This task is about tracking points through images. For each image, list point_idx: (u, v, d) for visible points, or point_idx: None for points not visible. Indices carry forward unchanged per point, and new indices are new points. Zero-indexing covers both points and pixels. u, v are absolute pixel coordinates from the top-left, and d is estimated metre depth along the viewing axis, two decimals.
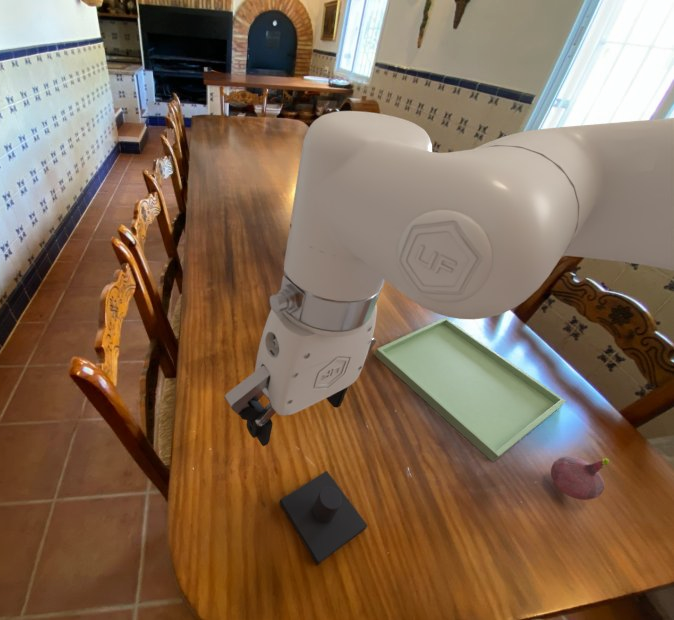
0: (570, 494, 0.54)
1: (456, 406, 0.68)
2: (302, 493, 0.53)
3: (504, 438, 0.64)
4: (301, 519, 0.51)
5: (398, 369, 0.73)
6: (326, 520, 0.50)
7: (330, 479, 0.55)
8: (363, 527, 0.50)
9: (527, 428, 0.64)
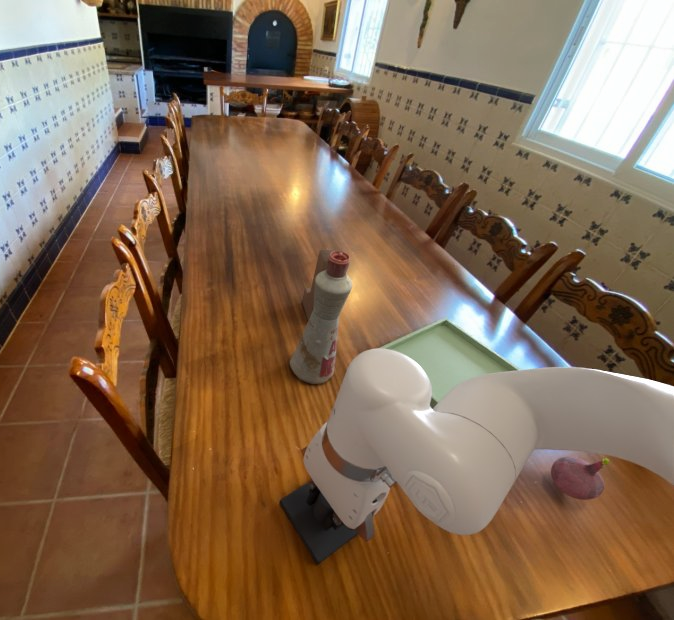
0: (570, 494, 0.54)
1: None
2: (302, 493, 0.53)
3: None
4: (301, 519, 0.51)
5: None
6: None
7: None
8: None
9: None
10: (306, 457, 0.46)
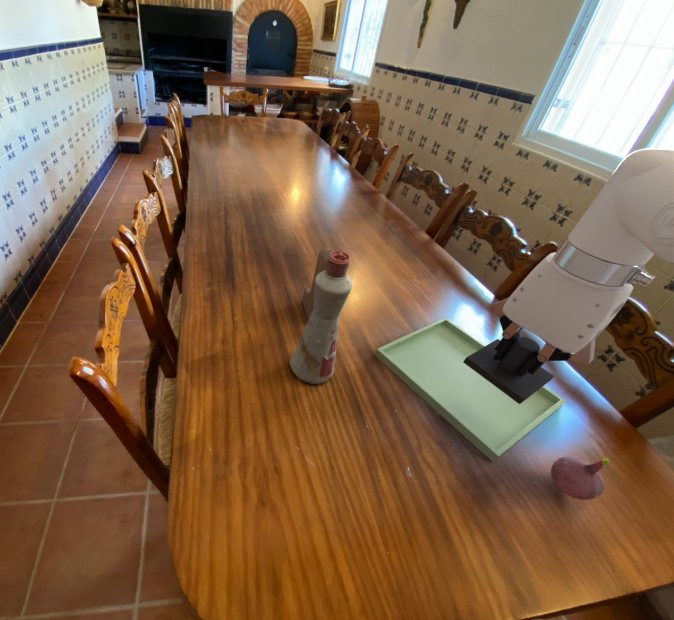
0: (570, 494, 0.54)
1: (456, 406, 0.68)
2: (484, 353, 0.57)
3: (504, 438, 0.64)
4: (492, 370, 0.54)
5: (398, 369, 0.73)
6: (519, 368, 0.53)
7: None
8: (551, 377, 0.54)
9: (527, 428, 0.64)
10: (513, 300, 0.50)
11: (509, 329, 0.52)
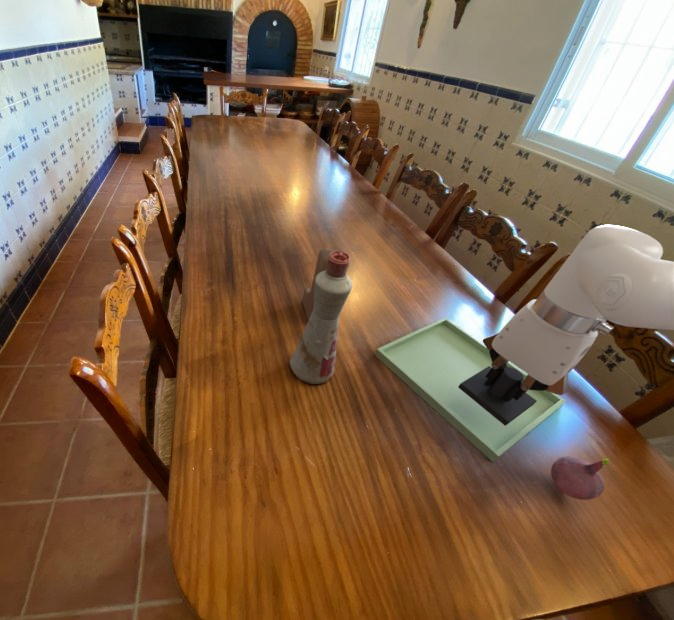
0: (570, 494, 0.54)
1: (456, 406, 0.68)
2: (476, 379, 0.65)
3: (504, 438, 0.64)
4: (483, 395, 0.62)
5: (398, 369, 0.73)
6: (506, 394, 0.61)
7: None
8: (534, 401, 0.62)
9: (527, 428, 0.64)
10: (500, 338, 0.58)
11: (497, 361, 0.60)
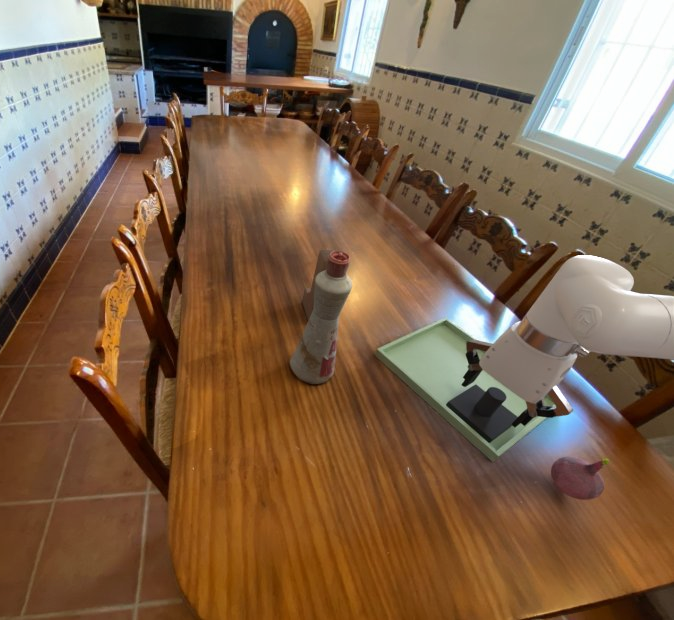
0: (570, 494, 0.54)
1: None
2: (463, 398, 0.69)
3: (504, 438, 0.64)
4: (469, 414, 0.66)
5: (398, 369, 0.73)
6: (490, 413, 0.65)
7: (480, 389, 0.70)
8: None
9: (527, 428, 0.64)
10: (486, 357, 0.61)
11: (475, 366, 0.64)
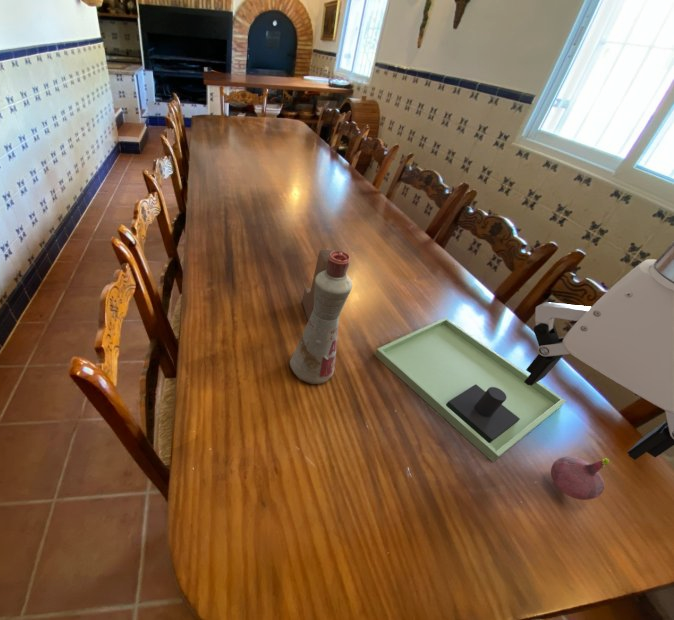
0: (570, 494, 0.54)
1: None
2: (463, 398, 0.69)
3: (504, 438, 0.64)
4: (469, 414, 0.66)
5: (398, 369, 0.73)
6: (490, 413, 0.65)
7: (480, 389, 0.70)
8: (517, 419, 0.66)
9: (527, 428, 0.64)
10: (581, 330, 0.33)
11: (554, 347, 0.36)
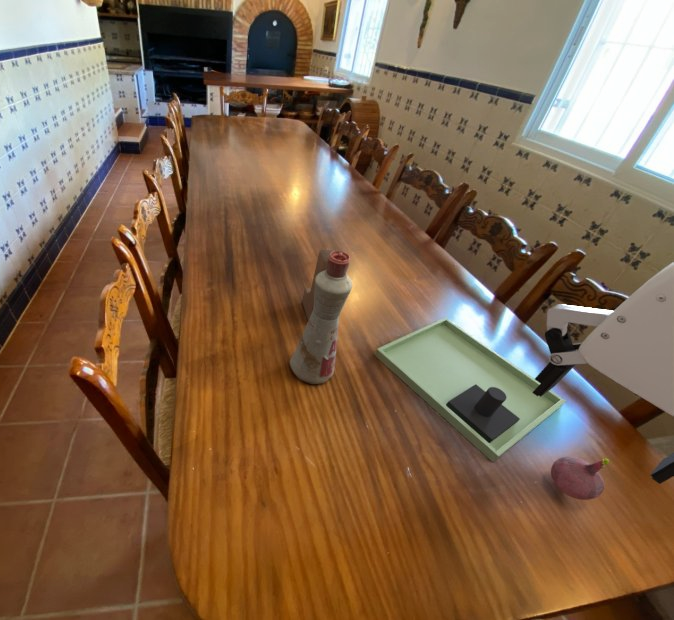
0: (570, 494, 0.54)
1: None
2: (463, 398, 0.69)
3: (504, 438, 0.64)
4: (469, 414, 0.66)
5: (398, 369, 0.73)
6: (490, 413, 0.65)
7: (480, 389, 0.70)
8: (517, 419, 0.66)
9: (527, 428, 0.64)
10: (601, 337, 0.29)
11: (568, 356, 0.32)
